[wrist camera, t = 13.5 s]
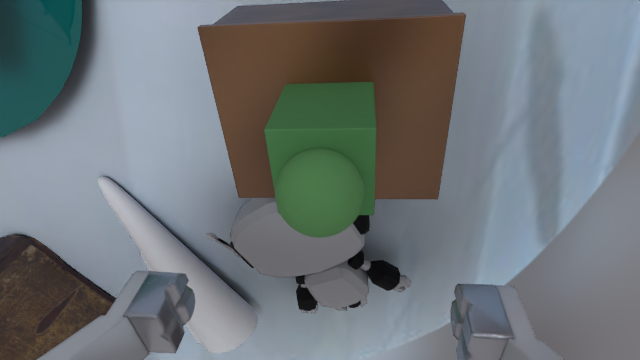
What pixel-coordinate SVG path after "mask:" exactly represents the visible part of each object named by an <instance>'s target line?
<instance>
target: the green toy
mask: <svg viewBox="0 0 640 360" xmlns="http://www.w3.org/2000/svg"><path fill="white" fill-rule="evenodd" d="M264 132H265V138H266V144H267V150H268V156H269V162H270V168H271V174H272V179H273V185H274V191H275V200H276V204H277V209H278V213H279V214H280V215H281V216H282V218H283V219H284V220H285V222H286V223H287V224H288V225H289V226H290V227H291V228H293V229H294V230H296V231H297V232H299V233H301V234H303V235H306V236H310V237H316V238H323V237H329V236H333V235H336V234H338V233H341V232H342V231H344V230H345V229H347V228H348V227H349V226H350V225H351V224H352V223H353V222H354V221H355V220H356V218H357V217H358V215H374V200H375V162H376V114H375V96H374V83H373V82H347V83H309V84H285V86H284V88H283V90H282V92H281V95H280V97H279V99H278V101H277V103H276V105H275V108H274V110H273V112H272V114H271V116H270V119H269V121H268V123H267V125H266V127H265V129H264Z"/></svg>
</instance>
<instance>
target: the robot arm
mask: <svg viewBox="0 0 640 360" xmlns="http://www.w3.org/2000/svg"><path fill="white" fill-rule="evenodd" d="M188 281H189V280H188V278H187V276H186V274H185V273H171V272H156V271H136V272H135V273H134V274H132V276H131V277H130V279H129V280H128V282H127V283H126V285H125V286H124V288H123V290H122V291H121V293H120V294H119V296H118V297H117V299H116V300H115V302H114V303H113V305H112V306H111V308H110V309H109V311H108V312H107V314H106V315H101V316H99V317H98V318H96V319H95V320H93V321H92V322H91V323H89V324H88V325H86V326H85V327H83V328H82V329H80V330H79V331H78V332H76V333H75V334H73V335H72V336H70V337H69V338H67V339H66V340H64V341H63V342H62V343H60V344H59V345H57V346H56V347H54V348H53V349H51V350H50V351H49V352H47V353H46V354H44V355H43V356H41V357H40V358H38V359H37V360H143V359H145V358H146V357H147V356H148V355H149V352H157V353H176V351H177V349H178V347H179V344H180V342H181V340H182V338H183V335H184V329H183V325H185V324H186V323H187V322H188V321H189V320H190V319H191V317H192V315H193V312H194V308H195V294H194V292H193V290H192V289H191V288H190V287H188V286H187V283H188ZM454 293H455V297H456V300H454V301H453V302H452V306H451V325H452V331H453V335H454V336H455V337H456V339H457V340H458V344H457V349H456V352H457V357H458V360H564V359H563V358H561V357H560V356H559V355H558V354H557V353H556V352H555V351H554V350H553V349H552V348H550V347H549V346H548V345H547V344H546V343H545V342H544V341H538V340H537V339H536V336H535V333H534V331H533V328H532V326H531V323H530V321H529V318H528V316H527V313H526V311H525V308H524V306H523V303H522V301H521V298H520V296H519V293H518V291H517V289H516V288H515V287H514V286H502V285H484V284H457V285H456V287H455V291H454Z"/></svg>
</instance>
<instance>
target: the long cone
mask: <svg viewBox="0 0 640 360" xmlns="http://www.w3.org/2000/svg"><path fill="white" fill-rule="evenodd" d="M97 184H98V187H99V189H100V191H101V193H102V194H103V196H104V198H105V200H106V201H107V203H108V204H109V206H110V207H111V209H112V210H113V212H114V213H115V215H116V216H117V218H118V219H119V221H120V222H121V224H122V225H123V227H124V228H125V230H126V231H127V233H128V234H129V236H130V237H131V239H132V240H133V242H134V243H135V244H136V246H137V247H138V249H139V250H140V252H141V257H142V259H143V260H144V262H145V263H146V265H147V266H148V268H149V269H150V271H156V272H171V273H185V274H186V276H187V278H188V280H189V281H188V283H187V286H188V287H190V288H191V289H192V290H193V292H194V294H195V308H194V312H193V315H192V317H191V319H190V320H189V321H188V322H187V323H186V326H187V327H188V329H189V330H190V332H191V333H192V335H193V336H194V338H195V339H196V341H197V342H198V344H202V345H203V346H204V348H205V349H206V350H207V351H209V352H211V353H225V352H228V351H231V350H233V349H235V348H237V347H238V346H240V345H241V344H242V343H244V342H245V341H246V340H247V339H248V338H249V337H250V336H251V334H252V333H253V332H254V330H255V328H256V326H257V323H258V315H257V312H256V311H255V309H253V308H252V307H251V306H250V305H249V304H248V303H247V302H246V301H245V300H244V299H243V298H242V297H240V296H239V295H238V294H237V293H236V292H235V291H234V290H232V289H231V288H230V287H229V286H228V285H227V284H226V283H225V282H224V281H223V280H222V279H221V278H219V277H218V276H217V275H216V274H215V273H214V272H213V271H212V270H211V269H210V268H209V267H207V266H206V265H205V264H204V263H203V262H202V261H201V260H200V259H199V258H198V257H197V256H195V255H194V254H193V253H192V252H191V251H190V250H189V249H188V248H187V247H186V246H185V245H183V244H182V243H181V242H180V241H179V240H178V239H177V238H176V237H175V236H174V235H173V234H171V233H170V232H169V231H168V230H167V229H166V228H165V227H164V226H163V225H162V224H161V223H160V222H158V221H157V220H156V219H155V218H154V217H153V216H152V215H151V214H150V213H149V212H148V211H146V210H145V209H144V208H143V207H142V206H141V205H140V204H139V203H138V202H137V201H135V200H134V199H133V198H132V197H131V196H130V195H129V194H128V193H127V192H125V191H124V190H123V189H122V188H121V187H120V186H118V185H117V184H116V183H115V182H113V181H112V180H110V179H109V178H107V177H103V176H101V177H99V178H98V179H97Z"/></svg>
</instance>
